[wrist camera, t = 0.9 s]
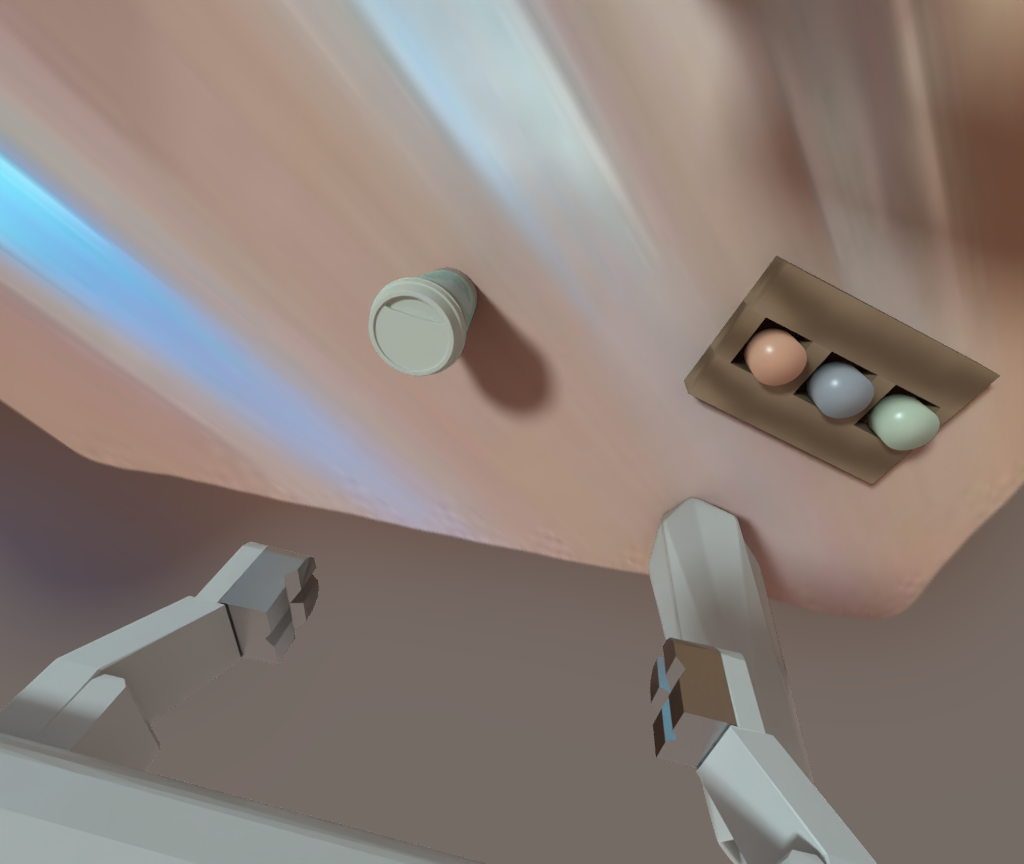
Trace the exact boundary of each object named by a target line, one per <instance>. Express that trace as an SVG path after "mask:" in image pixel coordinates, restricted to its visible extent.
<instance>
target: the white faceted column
mask: <svg viewBox="0 0 1024 864" xmlns="http://www.w3.org/2000/svg"><path fill="white" fill-rule="evenodd" d="M649 574H650V579H651V583H652V587H653V591H654V595H655V599H656V603H657V607H658V611H659V615H660V619H661V623H662V627H663V631H664V635H665V639H666V640H667V639H668V638H670V637H671V638H676V639H680V640H685V641H690V642H695V643H699V644H704V645H709V646H714V647H715V648H720V649H724V650H729V651H734V652H738V653H741V654H742V656H743V657H744V658H745V661H746V665H747V668H748V672H749V675H750V679H751V682H752V686H753V689H754V693H755V696H756V700H757V703H758V707H759V710H760V714H761V717H762V721H763V725H764V728H765V732H766V733H767V734H770V735H774V737H775V738H776V739H777V740H778V742H779V743H780V744H781V745H782V747H783V748H784V749H785V750H786V751H787V753H788V754H789V755H790V756H791V758H792V759H793V760H794V761H795V763H796V764H797V765H798V766H799V768H800V769H801V770H802V771H803V773H804V774H805V775H806V776H807V778H808V779H809V780H810V781H811V783H812V784H813V785H814V786H815V784H814V780H813V776H812V772H811V768H810V764H809V760H808V756H807V752H806V748H805V744H804V740H803V736H802V732H801V728H800V724H799V720H798V716H797V712H796V708H795V704H794V700H793V696H792V692H791V688H790V684H789V680H788V676H787V672H786V668H785V664H784V660H783V656H782V652H781V648H780V644H779V640H778V636H777V632H776V629H775V624H774V620H773V616H772V612H771V609H770V604H769V600H768V596H767V592H766V588H765V584H764V580H763V576H762V572H761V569H760V566H759V563H758V561H757V559H756V557H755V556H754V554H753V553H752V551H751V550H750V548H749V547H748V545H747V544H746V542H745V541H744V539H743V535H742V532H741V529H740V525H739V522H738V519H737V517H736V516H734V515H732V514H730V513H729V512H727V511H725V510H722V509H720V508H718V507H716V506H714V505H711V504H709V503H707V502H705V501H702V500H700V499H698V498H689V499H687V500H686V501H684V502H682V503H681V504H679V505H678V506H676V507H674V508H673V509H671V510H670V511H668V512H667V513H665V514H664V515H662V517H661V521H660V524H659V528H658V532H657V535H656V539H655V542H654V546H653V550H652V553H651V557H650V561H649ZM701 782H702V781H701ZM702 786H703V789H704V793H705V797H706V801H707V805H708V809H709V813H710V817H711V820H712V824H713V828H714V831H715V835H716V838H717V841H718V843H719V845H720V846H721V848H722V849H723V851H724V852H725V853H726V855H727V856H728V857H729V858H730V860H731V861H732V862H733V863H734V864H747V863H746V861H745V859H744V857H743V855H742V853H741V852H740V850H739V848H738V846H737V844H736V843H735V841H734V839H733V837H732V835H731V833H730V832H729V830H728V828H727V826H726V824H725V823H724V821H723V819H722V817H721V815H720V814H719V812H718V810H717V808H716V806H715V804H714V803H713V801H712V799H711V797H710V795H709V794H708V792H707V790H706V788H705V786H704V785H703V783H702Z"/></svg>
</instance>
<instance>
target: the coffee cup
mask: <svg viewBox="0 0 1024 864" xmlns="http://www.w3.org/2000/svg"><path fill="white" fill-rule="evenodd" d="M476 306H477V292H476V289H475V286H474V284H473V282H472V281H471V280H470V278H469V277H468V276H467V275H465V274H464V273H463V272H461V271H459V270H456V269H452V268H443V269H439V270H436V271H433V272H430V273H427V274H424V275H421V276H418V277H415V278H414V277H408V278H401V279H398V280H395V281H393V282H391V283H389V284H388V285H386V286H385V287H384V288H383V289H382V290H381V291H380V292H379V294H378V295H377V297H376V298H375V300H374V302H373V304H372V307H371V311H370V317H369V334H370V339H371V341H372V344H373V346H374V348H375V350H376V351H377V353H378V354H379V356H380V357H381V358H382V359H383V360H384V361H385V362H386V363H387V364H388V365H389V366H391V367H392V368H394V369H396V370H397V371H399V372H402V373H404V374H408V375H413V376H425V375H431V374H435V373H439V372H441V371H443V370H445V369H447V368H448V367H450V366H451V365H452V364H453V363H455V362H456V360H457V359H458V358H459V357H460V355H461V353H462V351H463V349H464V346H465V342H466V333H467V330H468V328H469V325H470V323H471V320H472V317H473V315H474V312H475V309H476Z"/></svg>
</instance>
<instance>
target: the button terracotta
mask: <svg viewBox="0 0 1024 864" xmlns="http://www.w3.org/2000/svg"><path fill="white" fill-rule="evenodd" d="M744 360H745V362H746V364H747V365H748V367H749V369H750V370H751V372H752V373H753V375H754V376H755V378H756V379H757V380H758V381H759V382H761V383H763V384H766V385H771V386H777V385H783V384H786V383H788V382H790V381H792V380H794V379H795V378H796V377H798V376H799V375H800V373H801V372H802V371H803V369H804V367H805V365H806V361H807V355H806V351H805V349H804V348H803V347H802V345H801V344H800V343H799V342H798V341H797V340H796V339H795V338H794V337H793V336H792V335H791V334H790V333H789V332H787V331H785V330H783V329H779V328H769V329H765V330H762V331H760V332H758V333H757V334H755V335H754V336H753V337H752V338H751V339H750V340H749V341H748V342H747V344H746V346H745V349H744Z"/></svg>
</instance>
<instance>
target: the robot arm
mask: <svg viewBox="0 0 1024 864" xmlns="http://www.w3.org/2000/svg"><path fill="white" fill-rule="evenodd" d="M315 568H316V564H315V558H314V557H310V556H306V555H302V554H298V553H294V552H290V551H286V550H283V549H279V548H274V547H271V546H267V545H262V544H258V543H254V542H249V543H247V544H245V545H243V546H242V547H241V548H240V549H239V550H238V551H237V553H235V555H234V556H233V557H232V558H231V559H230V560H229V561H228V562H227V563H226V564H225V566H224V567H223V568H222V569H221V570H220V571H219V572H218V573H217V574H216V575H215V576H214V577H213V579H212V580H211V581H210V582H209V583H208V584H207V585H206V586H205V587H204V588H203V589H202V591H201V592H200V593H199V594H198V595H197V596H196V597H191V596H188V597H186V598H184V599H182V600H180V601H178V602H175V603H174V604H171V605H169V606H167V607H165V608H163V609H161V610H159V611H156V612H154V613H152V614H150V615H148V616H146V617H144V618H142V619H140V620H137V621H135V622H133V623H131V624H129V625H127V626H125V627H123V628H121V629H119V630H116V631H114V632H112V633H110V634H108V635H106V636H104V637H102V638H99V639H98V640H95V641H93V642H91V643H89V644H87V645H85V646H83V647H80V648H78V649H76V650H74V651H72V652H70V653H68V654H66V655H64V656H62V657H60V658H57V659H56V660H55V661H54V662H53V663H51V664H50V665H49V666H48V667H47V668H46V669H45V670H44V671H43V672H42V673H41V674H40V675H39V676H38V677H37V678H35V679H34V680H33V681H32V682H31V683H30V684H29V685H28V686H27V687H26V688H25V689H24V690H22V691H21V692H20V693H19V694H18V695H17V696H16V697H15V698H14V699H13V700H12V701H10V702H9V703H8V704H7V705H6V706H5V707H4V708H3V709H2V710H1V711H0V864H487V863H484V862H480V861H476V860H472V859H469V858H465V857H462V856H458V855H454V854H450V853H447V852H443V851H439V850H435V849H432V848H428V847H424V846H421V845H416V844H413V843H409V842H406V841H402V840H398V839H395V838H391V837H387V836H384V835H380V834H376V833H373V832H368V831H365V830H362V829H358V828H354V827H350V826H346V825H343V824H339V823H335V822H331V821H328V820H324V819H321V818H317V817H313V816H309V815H306V814H302V813H298V812H295V811H291V810H287V809H284V808H280V807H276V806H272V805H269V804H265V803H261V802H258V801H254V800H250V799H247V798H243V797H239V796H235V795H232V794H228V793H224V792H220V791H217V790H213V789H210V788H206V787H202V786H198V785H195V784H191V783H187V782H183V781H180V780H176V779H172V778H169V777H165V776H161V775H158V774H154V773H150V772H146V771H145V770H146V769H147V767H148V766H149V765H150V763H151V762H152V760H153V759H154V758H155V756H156V755H157V754H158V752H159V751H160V742H159V740H158V738H157V736H156V735H155V733H154V731H153V729H152V727H151V726H150V724H151V723H152V722H154V721H155V720H156V719H158V718H159V717H161V716H162V715H163V714H165V713H166V712H168V711H169V710H171V709H172V708H173V707H175V706H176V705H178V704H179V703H181V702H182V701H183V700H185V699H186V698H188V697H189V696H191V695H192V694H193V693H195V692H196V691H198V690H199V689H200V688H202V687H203V686H205V685H206V684H207V683H209V682H210V681H212V680H213V679H215V678H216V677H217V676H219V675H220V674H222V673H223V672H225V671H226V670H227V669H229V668H230V667H232V666H233V665H234V664H236V663H237V662H239V661H240V660H241V657H243V658H248V659H252V660H257V661H261V662H266V663H271V664H275V665H278V664H279V663H280V662H281V660H282V658H283V657H284V655H285V654H286V652H287V651H288V649H289V647H290V646H291V644H292V643H293V641H294V640H295V630H294V628H295V627H297V626H299V625H300V624H302V623H304V622H305V621H307V619H308V617H309V616H310V614H311V612H312V611H313V608H314V606H315V603H316V600H317V598H318V591H319V585H318V580H317V579H316V578H315V577H314V576H313V574H312V573H313V571H314V570H315ZM663 652H664V656H662V657H660V658H658V659H656V662H655V664H654V666H653V669H652V675H651V680H650V695H651V704H652V705H653V707H654V708H655V710H656V711H657V713H658V716H657V718H656V720H655V721H654V723H653V731H654V743H655V754H656V758H657V759H661V760H665V761H668V762H672V763H675V764H679V765H683V766H686V767H690V768H693V769H697V774H698V775H699V777H700V779H701V781H702V783H703V785H704V786H705V788H706V790H707V792H708V794H709V795H710V797H711V799H712V801H713V803H714V804H715V806H716V808H717V810H718V812H719V814H720V815H721V817H722V819H723V821H724V823H725V824H726V826H727V828H728V830H729V832H730V833H731V835H732V837H733V839H734V841H735V843H736V844H737V846H738V848H739V850H740V852H741V853H742V855H743V857H744V859H745V861H746V863H747V864H877V863H876V862H875V861H874V859H873V858H872V857H871V856H870V854H869V853H868V852H867V851H866V850H865V848H864V847H863V846H862V845H861V843H860V842H859V841H858V840H857V838H856V837H855V836H854V835H853V833H852V832H851V831H850V830H849V828H848V827H847V826H846V825H845V824H844V822H843V821H842V820H841V818H840V817H839V816H838V815H837V814H836V812H835V811H834V810H833V809H832V808H831V806H830V805H829V804H828V802H827V801H826V800H825V799H824V797H823V796H822V795H821V794H820V792H819V791H818V790H817V789H816V788H815V786H814V785H813V784H812V783H811V781H810V780H809V779H808V778H807V776H806V775H805V774H804V773H803V771H802V770H801V769H800V768H799V766H798V765H797V764H796V763H795V761H794V760H793V759H792V758H791V756H790V755H789V754H788V753H787V751H786V750H785V749H784V748H783V747H782V745H781V744H780V743H779V742H778V740H777V739H776V738H775V737H774V735H770V734H767V733H766V732H765V728H764V725H763V721H762V717H761V714H760V710H759V707H758V703H757V700H756V696H755V693H754V689H753V686H752V682H751V679H750V675H749V672H748V668H747V665H746V661H745V658H744V657H743V656H742V654H741V653H738V652H734V651H729V650H724V649H720V648H715V647H714V646H709V645H704V644H699V643H695V642H690V641H685V640H680V639H676V638H671V637H670V638H668V639H667V640H666V642H665V643H664V645H663Z"/></svg>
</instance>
